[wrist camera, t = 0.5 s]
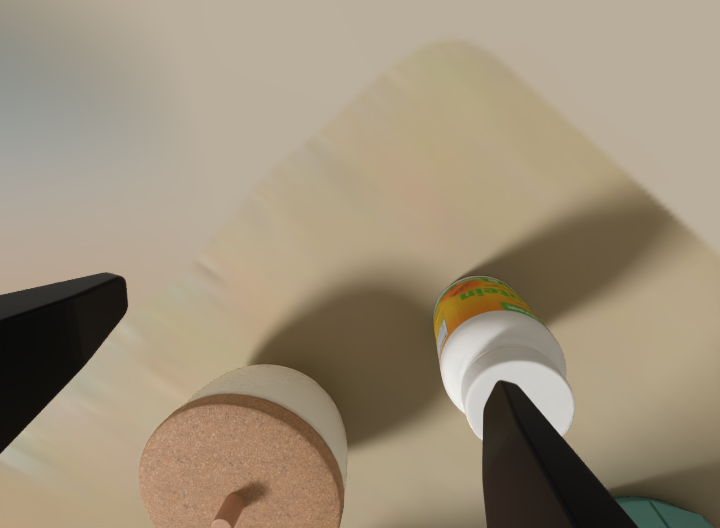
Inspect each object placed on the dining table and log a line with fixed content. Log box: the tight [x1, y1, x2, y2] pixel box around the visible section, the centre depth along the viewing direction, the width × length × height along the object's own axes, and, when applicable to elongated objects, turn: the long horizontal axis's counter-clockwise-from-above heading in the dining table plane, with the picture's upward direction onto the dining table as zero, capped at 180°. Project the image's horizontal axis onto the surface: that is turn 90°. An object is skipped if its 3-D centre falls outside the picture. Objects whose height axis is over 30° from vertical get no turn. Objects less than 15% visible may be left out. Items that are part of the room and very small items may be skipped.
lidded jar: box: [139, 364, 348, 528], centre depth 23 cm, size 11×11×9 cm
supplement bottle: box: [433, 276, 575, 441], centre depth 19 cm, size 5×5×10 cm
